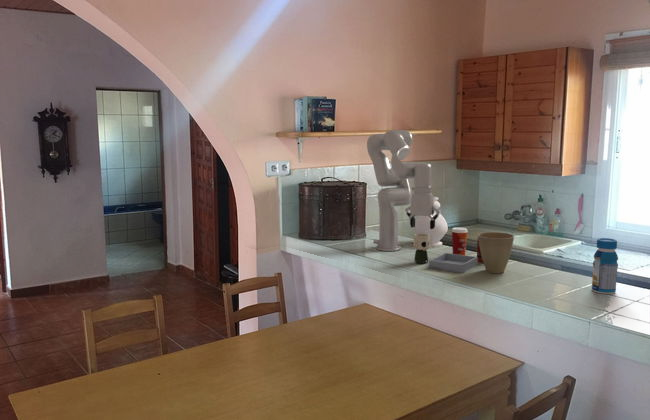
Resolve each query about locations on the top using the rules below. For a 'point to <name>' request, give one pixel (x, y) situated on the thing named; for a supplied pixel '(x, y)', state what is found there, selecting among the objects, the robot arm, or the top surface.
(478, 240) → the canned food
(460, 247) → the paper cup
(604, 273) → the beverage bottle
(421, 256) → the character mug
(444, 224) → the decorative vase
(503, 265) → the plant pot
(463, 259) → the grey bin
